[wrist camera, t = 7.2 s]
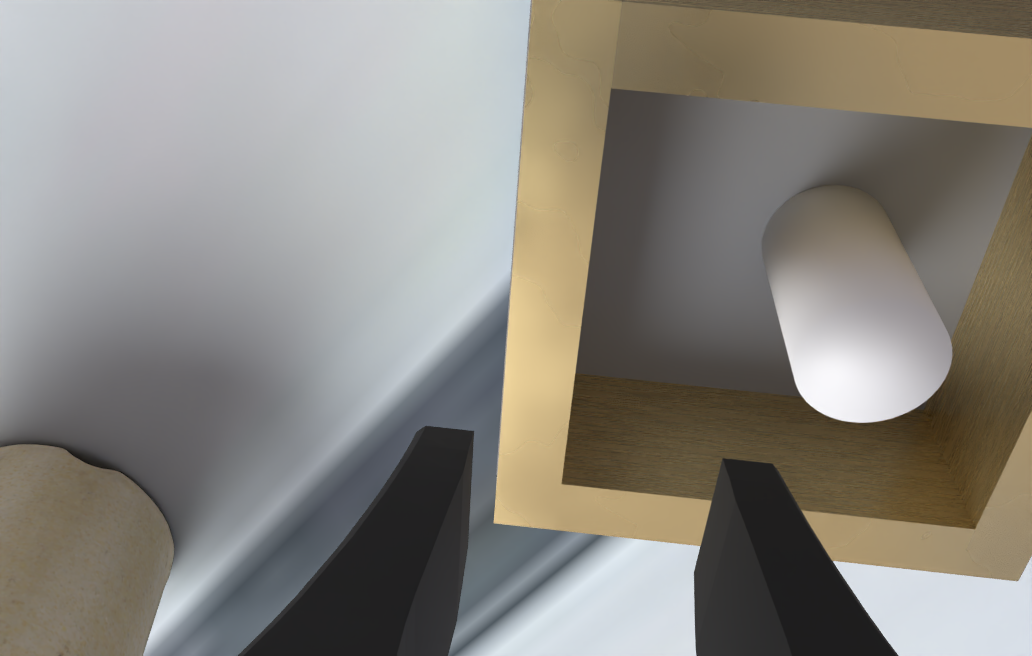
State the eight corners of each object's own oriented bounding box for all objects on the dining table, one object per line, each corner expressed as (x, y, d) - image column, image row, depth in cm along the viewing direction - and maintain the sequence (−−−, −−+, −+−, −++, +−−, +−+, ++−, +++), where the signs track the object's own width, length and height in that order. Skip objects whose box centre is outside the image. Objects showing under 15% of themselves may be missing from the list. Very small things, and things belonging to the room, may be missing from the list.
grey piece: (989, 487, 23) (1081, 682, 19) (502, 435, 24) (475, 612, 19) (1287, -144, 15) (1570, -77, 11) (550, -206, 16) (524, -165, 11)
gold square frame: (962, 458, 21) (1018, 581, 18) (510, 410, 21) (493, 523, 18) (1165, -8, 15) (1293, 63, 12) (548, -62, 16) (532, -7, 13)
